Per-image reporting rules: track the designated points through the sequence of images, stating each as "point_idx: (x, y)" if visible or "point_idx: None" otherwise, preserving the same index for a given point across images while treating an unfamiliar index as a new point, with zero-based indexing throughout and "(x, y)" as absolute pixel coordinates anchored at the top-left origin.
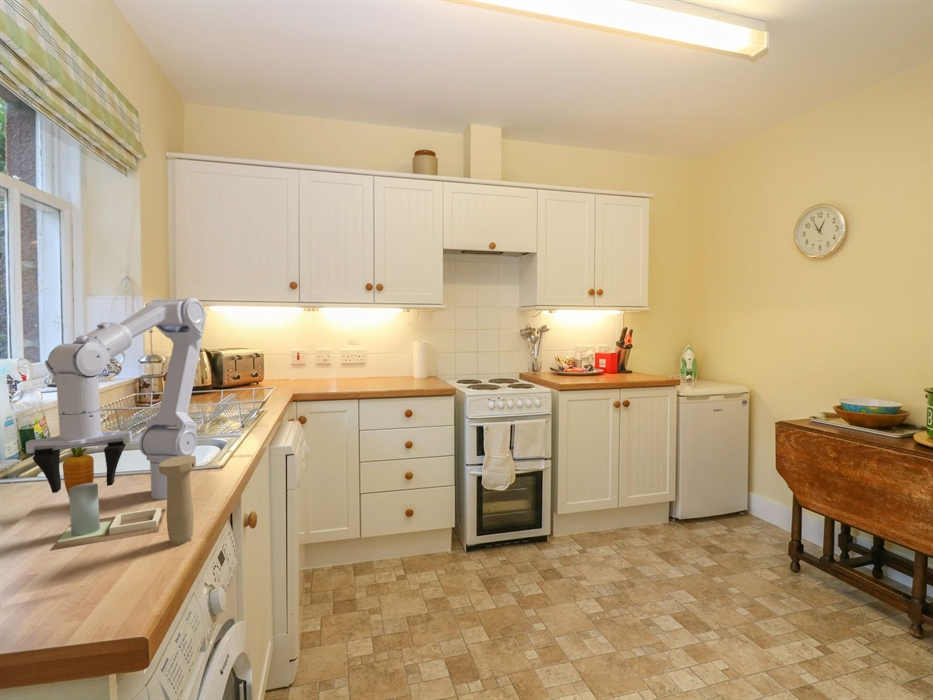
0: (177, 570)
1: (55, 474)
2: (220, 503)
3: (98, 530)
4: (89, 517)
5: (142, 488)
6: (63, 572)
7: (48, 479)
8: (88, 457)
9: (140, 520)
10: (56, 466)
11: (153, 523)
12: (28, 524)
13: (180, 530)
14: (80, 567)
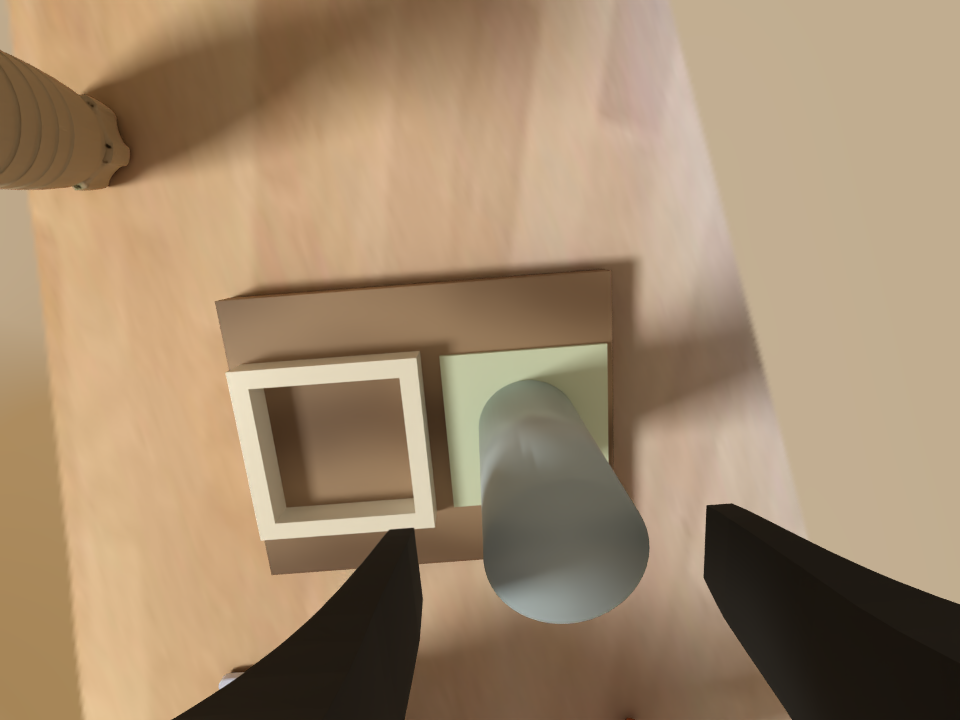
0: None
1: (797, 617)
2: (84, 603)
3: (477, 412)
4: (505, 414)
5: None
6: (508, 83)
7: (823, 553)
8: None
9: (338, 473)
10: (843, 714)
11: (244, 369)
12: None
13: None
14: (457, 108)
